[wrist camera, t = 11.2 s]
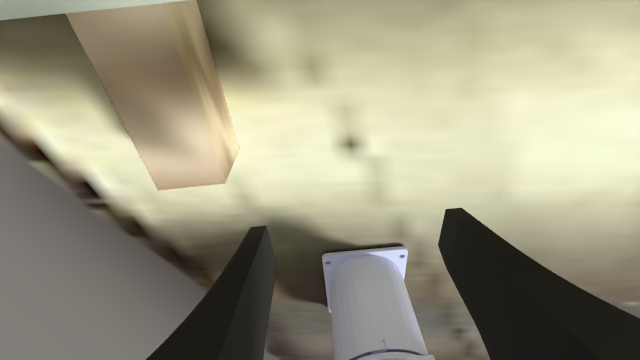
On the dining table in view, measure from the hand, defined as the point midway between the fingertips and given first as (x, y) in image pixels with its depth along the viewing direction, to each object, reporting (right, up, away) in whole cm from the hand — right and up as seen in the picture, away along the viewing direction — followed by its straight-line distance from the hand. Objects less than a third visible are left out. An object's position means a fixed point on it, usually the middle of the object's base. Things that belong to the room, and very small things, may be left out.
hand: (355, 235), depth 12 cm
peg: (-10, +9, +5) cm, 15 cm away
